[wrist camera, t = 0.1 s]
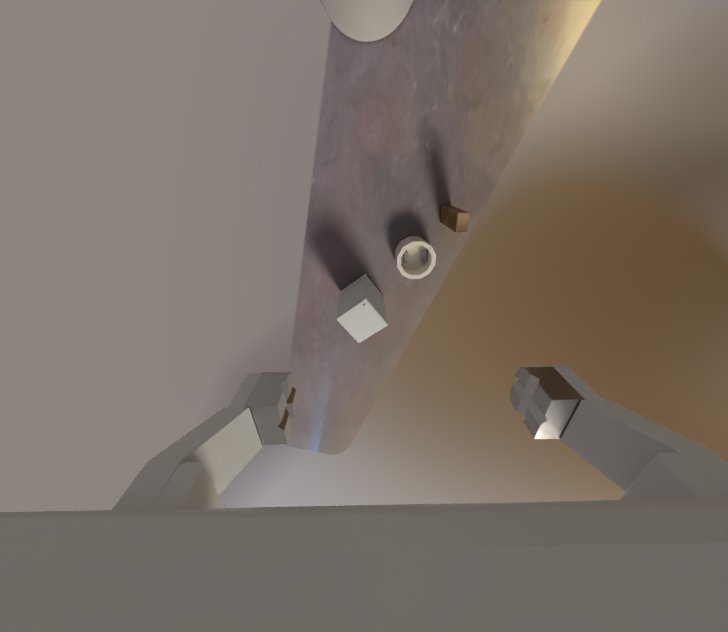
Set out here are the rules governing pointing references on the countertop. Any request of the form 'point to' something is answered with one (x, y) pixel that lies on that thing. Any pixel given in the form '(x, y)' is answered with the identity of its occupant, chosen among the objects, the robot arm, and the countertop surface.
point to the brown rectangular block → (454, 218)
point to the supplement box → (361, 309)
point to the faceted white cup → (414, 257)
